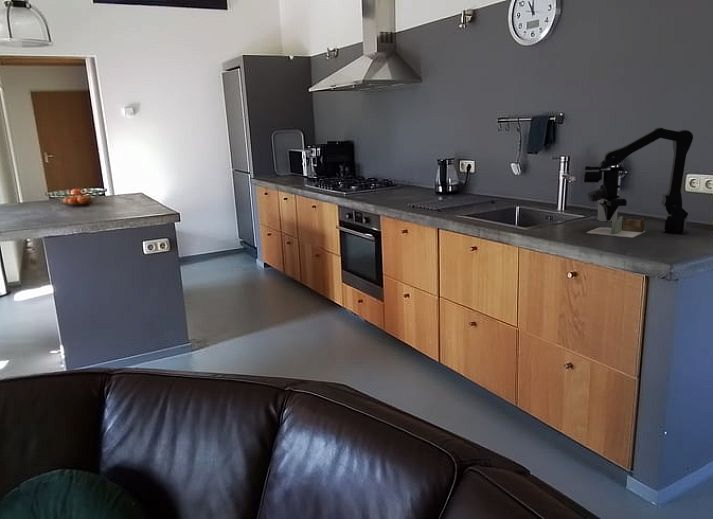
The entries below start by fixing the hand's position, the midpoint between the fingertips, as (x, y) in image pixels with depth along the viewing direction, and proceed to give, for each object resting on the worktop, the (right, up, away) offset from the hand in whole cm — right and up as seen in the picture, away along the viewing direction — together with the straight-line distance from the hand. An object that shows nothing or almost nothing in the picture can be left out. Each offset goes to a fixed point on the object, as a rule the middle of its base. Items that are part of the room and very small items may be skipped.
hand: (608, 220), depth 225 cm
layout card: (+2, -5, -3) cm, 6 cm away
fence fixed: (+8, -5, -3) cm, 10 cm away
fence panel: (+2, -5, -4) cm, 6 cm away
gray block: (+11, +2, +25) cm, 27 cm away
